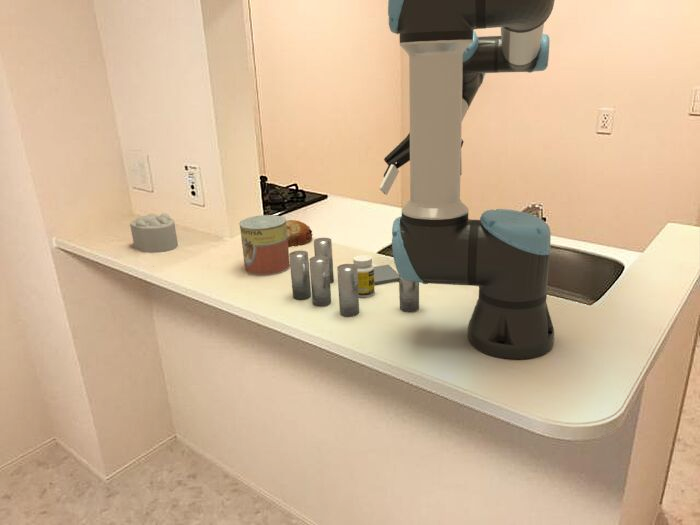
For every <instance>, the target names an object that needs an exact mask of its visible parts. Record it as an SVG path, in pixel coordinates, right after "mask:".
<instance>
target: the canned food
mask: <svg viewBox="0 0 700 525" xmlns="http://www.w3.org/2000/svg"><path fill="white" fill-rule="evenodd" d="M286 221H287V219H286V218H285V217H284V216H281V215H277V214H276V215H275V214H273V215H272V214H262V215H256V216H251V217H247V218H245V219H242V220H241V221H240V222H239V224H238V225H239V230H240V238H241V248H242V255H243V263H244V271H245V273H246V274H248V275H251V276H254V277H255V276H256V277H266V276H267V277H269V276H275V275H279V274H282V273H285V272H286V271H288V270H289V269H291V268H290V257H289V254H290V253H289V247H288V240H287V229H286Z"/></svg>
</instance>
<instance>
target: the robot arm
mask: <svg viewBox="0 0 700 525" xmlns="http://www.w3.org/2000/svg"><path fill="white" fill-rule="evenodd" d="M387 4H388V5H387V16H388V28H389V30H390V32H391V33H393V34H396V35H399V46H400V47H401V49H403V50H404V52H406V53H407V55H408V59H409V60H408V61H409V62H408V63H409V64H408V68H409V71H408V72H409V74H408V76H409V78H408V79H409V85H408V86H409V90H408V91H409V133H408V134H407V136H406V137H405V138H404V139H403V140H402V141H401V142H400V143H398V145H396V147H394V149H393V150H391V152H389V153H388V154H387V155H386V156H385V157H384V158H383V161H384V163H386V165H387V168H386V169H385V171H384V174H383V179H382V181H381V183H380V185H379V187H378V189H379V190H380V191H381V192H382V193H383V194H384V195H386V196H387V195H389V192H390V191H391V188H392V186H393V184H394V182H395V180H396V178H397V176H398V175H399V173H400V171H399V169H400V168H401V167H403V166H404V165H405V164H407V163H408V162H409V194H410V195H409V201H407V203H406V204H405V205H404V206H403V207H402V208H401V216H398V217H396V218H395V219H394V220H393V223H392V226H391V227H392V228H391V233H392V236H391V246H392V256H393V262H394V266H395V268H396V272H397V273H398V274H399V275H400V276H401V277H402V278H403V279H404V280H406V281H410V282H419V284H424V285H428V284H431V285H432V284H435V285H436V284H437V285H450V286H451V285H453V286H475V287H478V299H477V301H476V304H475V306H474V308H473V310H472V314H471V317H470V319H469V321H468V324H467V340H468V342H469V343H470V345H472V346H473V348H475V349H477V350H478V351H479V352H482V353H484V354H486V355H487V354H488V355H490V356H493V357H498V358H501V359H502V358H503V359H509V360H510V359H511V360H523V359H524V360H525V359H526V360H527V359H532V358H536V357H540V356H542V355H544V354H546V353H548V352H549V351H551V349H552V348H553V346H554V342H555V328H554V325H553V322H552V318H551V315H550V311H549V308H548V304H547V299H548V298H547V297H548V283H549V282H548V281H549V280H548V279H549V264H550V254H552V247H551V240H552V239H551V236H552V235H551V233H552V232H551V229H550V226H549V225H548V223H547V222H546V221H544V219H542V218H540V217H538V216H536V215H533V214H531V213H529V212H524V211H519V210H514V209H506V208H502V209H501V208H498V209H489V210H486V211H485V210H484V211H483V213H481V216H480V217H479V219H469V208H468V206H467V205H466V204H465V203H463V201H462V200H461V176H462V147H463V146H464V142H465V141H464V140H463V138H462V126H463V125H462V124H463V121H464V118H465V116H466V114H467V112H468V110H469V109H470V106H471V105H472V102H473V100H474V98H475V96H476V94H477V93H478V91H479V89H480V88H481V86H482V85H483V81H484V78H485V76H486V74H494V73H496V74H497V73H498V74H499V73H530V74H531V73H533V72H541V71H545V70H546V69H547V68H548V67H549V66H548V65H549V57H550V56H549V55H550V36H549V34H546V33H543V32H544V28H545V23H546V22H547V20H548V19H549V17H550V15H551V14H552V12H553V9H554V5H555V0H388V2H387ZM491 28H492V29H493V28H494V29H495V28H500V35H489V36H488V35H487V36H478V35H477V32H476V31H475V30H479V29H480V30H481V29H486V30H487V29H491Z"/></svg>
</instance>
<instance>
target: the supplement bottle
mask: <svg viewBox="0 0 700 525" xmlns="http://www.w3.org/2000/svg"><path fill="white" fill-rule="evenodd" d="M352 262H353V263H352V264H354V265H356V266H357V272H358V294H359V298H370V297H372V296H374V294H375V285H374V267H375V266H373V258H372V256H370V255H367V254H362V255H361V254H359V255H356V256H354V257H353V260H352Z"/></svg>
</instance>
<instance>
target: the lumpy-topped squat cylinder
mask: <svg viewBox="0 0 700 525" xmlns="http://www.w3.org/2000/svg"><path fill="white" fill-rule="evenodd" d="M175 224H176V223H175V220H174V218H171V217H170V215H169V214H168V213H161V214H159V215H158V214H154V213H149V214H146V215H142V216H138V217H136V219H135V220H133V221H131V222H130V224H129V226H130V232H131V237H132V242H133V247H134V249H136V250H137V251H140V252H143V253H149V254H150V253H153V254H155V253H156V254H157V253H166V252H171V251H173V250H175V249H177V247H178V246H179V242H178V237H177V230H176V225H175Z"/></svg>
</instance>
